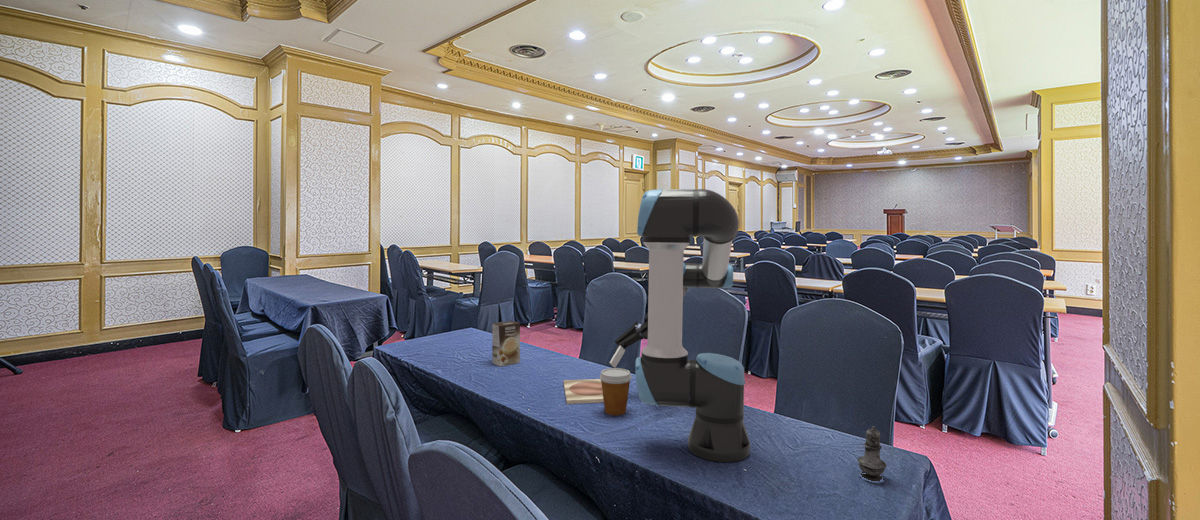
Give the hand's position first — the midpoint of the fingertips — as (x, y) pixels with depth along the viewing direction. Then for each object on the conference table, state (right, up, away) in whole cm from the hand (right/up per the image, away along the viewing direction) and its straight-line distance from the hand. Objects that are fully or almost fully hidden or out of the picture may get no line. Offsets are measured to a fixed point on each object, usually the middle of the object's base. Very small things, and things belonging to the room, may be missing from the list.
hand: (628, 369), depth 163 cm
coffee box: (-45, -7, +47) cm, 66 cm away
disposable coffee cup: (-4, -12, -4) cm, 13 cm away
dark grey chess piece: (+52, -15, -44) cm, 70 cm away
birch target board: (-12, -10, +13) cm, 20 cm away
